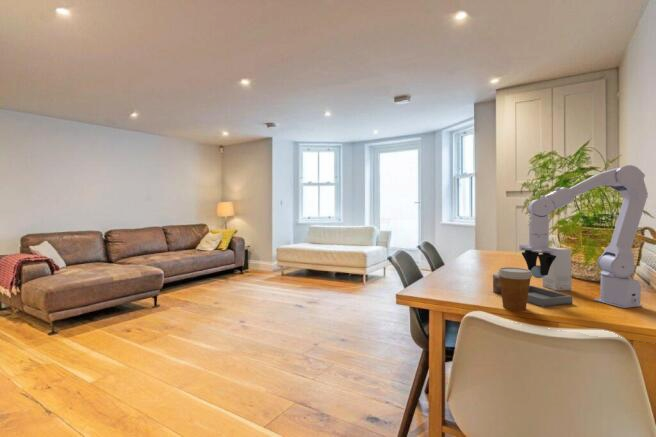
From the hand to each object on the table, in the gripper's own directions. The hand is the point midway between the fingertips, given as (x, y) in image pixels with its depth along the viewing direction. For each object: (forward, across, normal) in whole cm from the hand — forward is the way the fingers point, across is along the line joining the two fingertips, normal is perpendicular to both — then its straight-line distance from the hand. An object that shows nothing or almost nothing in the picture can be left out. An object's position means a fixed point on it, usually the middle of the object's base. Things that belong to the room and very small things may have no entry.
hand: (538, 273), depth 117 cm
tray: (+8, +1, -1) cm, 9 cm away
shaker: (+8, -10, -6) cm, 15 cm away
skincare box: (+9, -10, +19) cm, 23 cm away
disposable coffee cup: (+9, +7, -16) cm, 20 cm away
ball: (+2, 0, 0) cm, 2 cm away
